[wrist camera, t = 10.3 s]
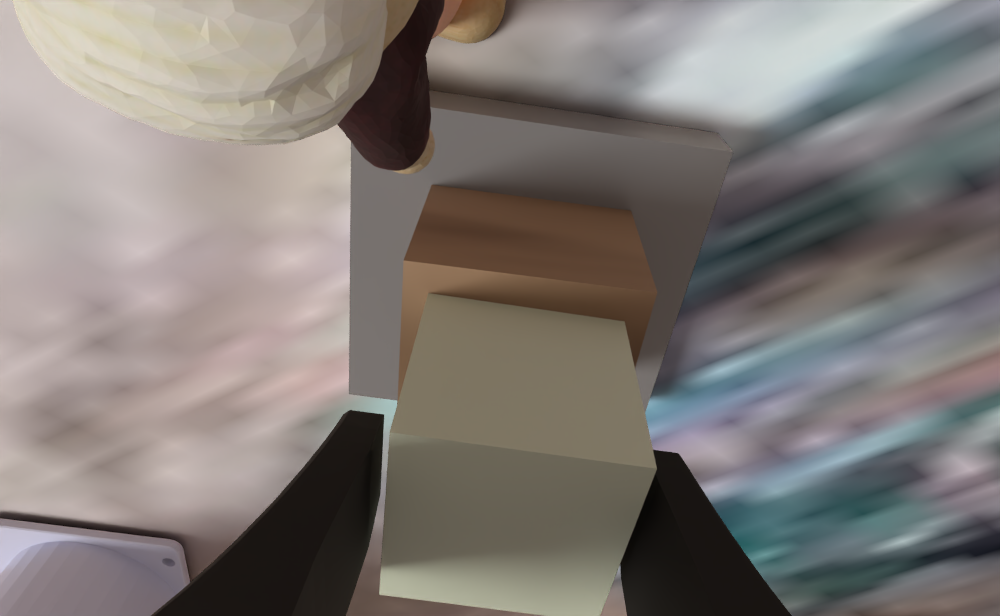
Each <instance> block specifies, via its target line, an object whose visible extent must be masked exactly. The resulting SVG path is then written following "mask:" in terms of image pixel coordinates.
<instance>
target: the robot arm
mask: <svg viewBox="0 0 1000 616" xmlns="http://www.w3.org/2000/svg"><path fill="white" fill-rule="evenodd" d="M383 426H384V415H383V414H375V413H367V412H360V411H352V410H350V411H348V412H346V413H345V414H343V416H342V417H341V419H340V420H339V422H338V423H337V425H336V426H335V427H334V429H333V430H332V432H331V433H330V434H329V436H328V437H327V438H326V440H325V441H324V442H323V444H322V445H321V446H320V447H319V449H318V450H317V451H316V452H315V454H314V455H313V456H312V457H311V459H310V460H309V461H308V462H307V464H306V465H305V466H304V467H303V468H302V470H301V471H300V472H299V473H298V474H297V475H296V476H295V478H294V479H293V480H292V481H291V482H290V483H289V484H288V486H287V487H286V488H285V489H284V490H283V491H282V493H281V494H280V495H279V496H278V497H277V498H276V499H275V500H274V501H273V503H272V504H271V505H270V506H269V507H268V508H267V509H266V510H265V511H264V512H263V513H262V514H261V515H260V516H259V517H258V518H257V519H256V520H255V521H254V522H253V523H252V524H251V525H250V526H249V527H248V528H247V529H246V531H245V532H244V533H243V534H242V535H241V536H240V537H239V538H238V539H237V540H236V541H235V542H234V543H233V544H232V545H231V546H229V547H228V548H227V549H226V550H225V551H224V552H223V553H222V554H221V555H220V556H219V557H218V558H217V559H216V560H215V561H214V562H213V563H211V564H210V565H209V566H208V567H207V568H206V569H205V570H204V571H203V572H201V573H200V574H199V575H198V576H197V577H196V578H195V579H194V580H193V581H191V582H190V579H189V574H188V569H187V564H186V559H185V555H184V550H183V547H182V545H181V544H180V543H179V542H177V541H175V540H171V539H164V538H156V537H148V536H140V535H132V534H124V533H116V532H107V531H99V530H91V529H83V528H75V527H67V526H59V525H51V524H43V523H35V522H26V521H18V520H10V519H2V518H0V616H346V613H347V610H348V607H349V604H350V601H351V598H352V595H353V592H354V589H355V586H356V583H357V580H358V577H359V574H360V571H361V568H362V565H363V562H364V559H365V556H366V553H367V550H368V547H369V542H370V538H371V534H372V529H373V525H374V520H375V516H376V511H377V506H378V502H379V497H380V489H381V468H382V447H383ZM653 453H654V457H655V462H656V466H657V470H656V473H655V475H654V478H653V480H652V483H651V486H650V488H649V491H648V493H647V496H646V498H645V501H644V504H643V506H642V509H641V511H640V514H639V516H638V519H637V522H636V524H635V527H634V529H633V532H632V535H631V537H630V540H629V542H628V545H627V547H626V550H625V553H624V555H623V558H622V560H621V563H620V565H621V580H622V586H623V593H624V599H625V605H626V611H627V616H792V615H791V614H790V613H789V612H788V610H787V609H786V608H785V607H784V605H783V604H782V603H781V601H780V600H779V599H778V597H777V596H776V595H775V594H774V592H773V591H772V590H771V588H770V587H769V586H768V584H767V583H766V582H765V580H764V579H763V578H762V576H761V575H760V574H759V572H758V571H757V570H756V568H755V567H754V565H753V564H752V563H751V561H750V560H749V558H748V557H747V556H746V554H745V553H744V551H743V550H742V548H741V547H740V546H739V544H738V543H737V541H736V540H735V538H734V537H733V536H732V534H731V533H730V531H729V530H728V528H727V527H726V525H725V524H724V522H723V521H722V519H721V518H720V516H719V515H718V513H717V512H716V510H715V509H714V507H713V506H712V504H711V503H710V501H709V500H708V498H707V497H706V495H705V493H704V492H703V490H702V489H701V487H700V486H699V484H698V483H697V481H696V479H695V478H694V476H693V475H692V473H691V472H690V470H689V468H688V467H687V465H686V464H685V462H684V461H683V459H682V458H681V456H680V455H679V454H678V453H672V452H665V451H657V450H653Z"/></svg>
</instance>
